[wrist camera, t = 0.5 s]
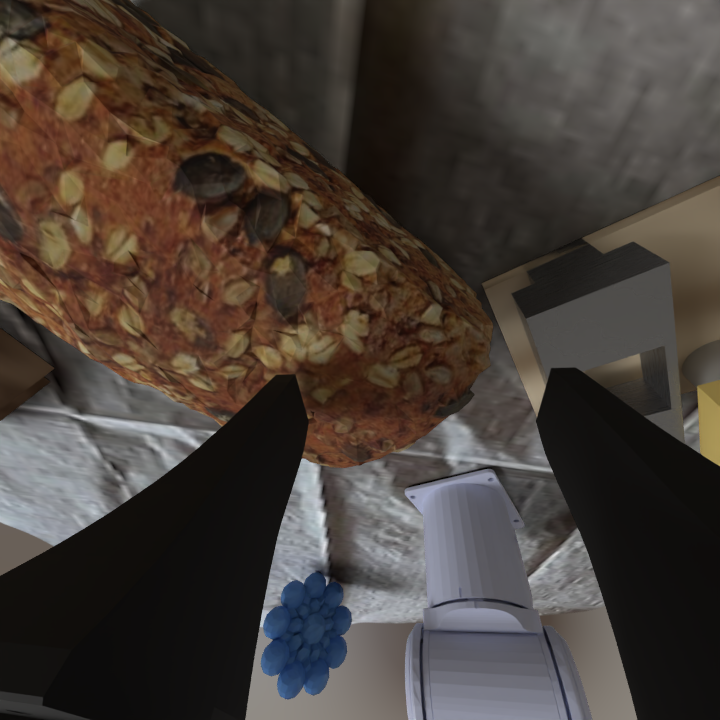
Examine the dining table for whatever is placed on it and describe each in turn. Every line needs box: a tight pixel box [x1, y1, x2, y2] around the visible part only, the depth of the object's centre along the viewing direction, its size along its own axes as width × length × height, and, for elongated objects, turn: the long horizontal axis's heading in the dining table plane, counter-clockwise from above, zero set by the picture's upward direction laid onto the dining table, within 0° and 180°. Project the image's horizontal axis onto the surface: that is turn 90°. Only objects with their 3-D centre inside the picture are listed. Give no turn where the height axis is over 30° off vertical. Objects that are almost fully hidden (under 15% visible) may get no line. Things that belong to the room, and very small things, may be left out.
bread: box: [0, 0, 493, 468], centre depth 14 cm, size 19×11×10 cm, turn 53°
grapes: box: [261, 572, 352, 699], centre depth 40 cm, size 12×7×12 cm, turn 51°
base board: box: [482, 176, 720, 416], centre depth 17 cm, size 12×17×1 cm
